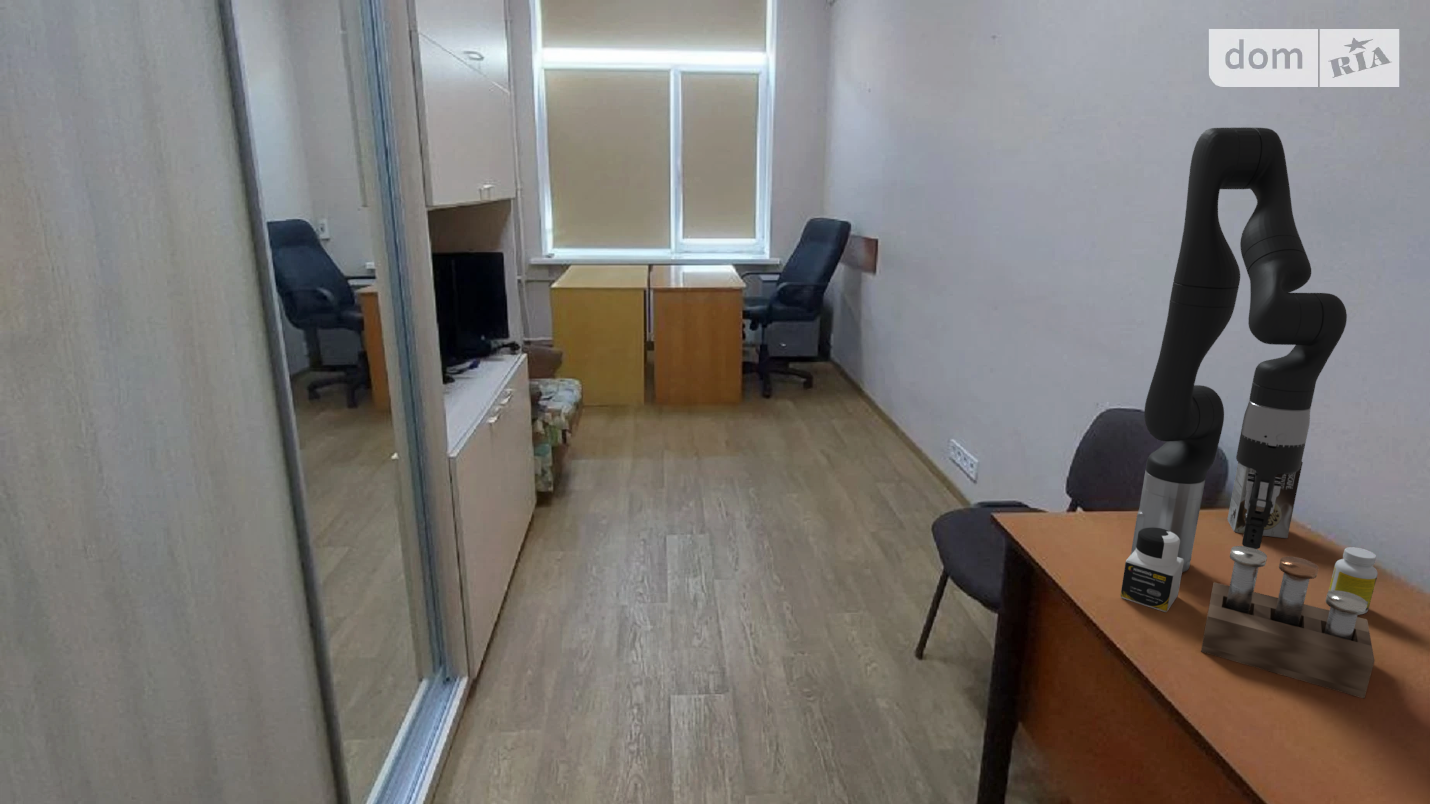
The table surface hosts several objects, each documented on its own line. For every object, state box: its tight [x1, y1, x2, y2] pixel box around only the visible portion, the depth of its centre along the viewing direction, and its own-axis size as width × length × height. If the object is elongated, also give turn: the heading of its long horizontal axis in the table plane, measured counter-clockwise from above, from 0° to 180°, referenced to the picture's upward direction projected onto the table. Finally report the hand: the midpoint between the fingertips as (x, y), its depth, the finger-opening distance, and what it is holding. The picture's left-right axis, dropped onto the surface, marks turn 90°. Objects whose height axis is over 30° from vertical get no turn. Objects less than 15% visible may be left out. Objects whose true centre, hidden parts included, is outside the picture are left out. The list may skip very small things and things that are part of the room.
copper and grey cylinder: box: [1273, 556, 1319, 627], centre depth 112 cm, size 4×4×10 cm
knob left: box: [1225, 545, 1268, 614], centre depth 115 cm, size 4×4×10 cm
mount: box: [1200, 581, 1375, 699], centre depth 114 cm, size 19×12×6 cm, turn 55°
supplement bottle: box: [1327, 546, 1379, 614], centre depth 125 cm, size 5×5×10 cm
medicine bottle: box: [1119, 527, 1184, 613], centre depth 128 cm, size 7×7×12 cm
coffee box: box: [1226, 461, 1304, 539], centre depth 152 cm, size 9×6×16 cm
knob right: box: [1324, 590, 1367, 640], centre depth 109 cm, size 4×4×10 cm
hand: (1250, 545), depth 113 cm, fingers closed
